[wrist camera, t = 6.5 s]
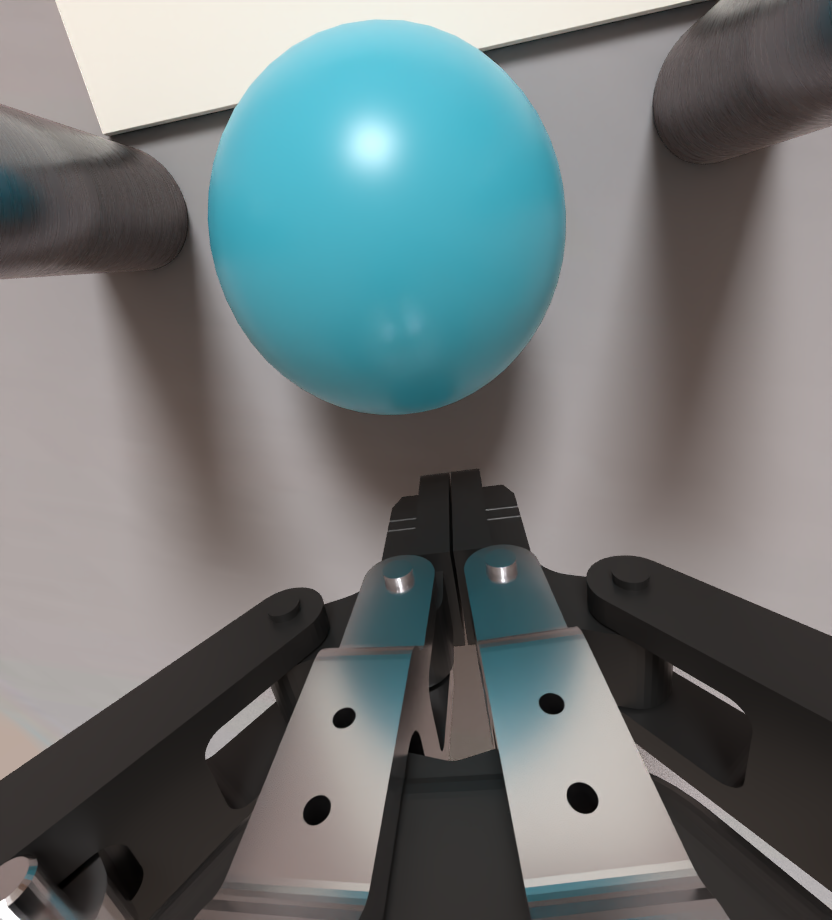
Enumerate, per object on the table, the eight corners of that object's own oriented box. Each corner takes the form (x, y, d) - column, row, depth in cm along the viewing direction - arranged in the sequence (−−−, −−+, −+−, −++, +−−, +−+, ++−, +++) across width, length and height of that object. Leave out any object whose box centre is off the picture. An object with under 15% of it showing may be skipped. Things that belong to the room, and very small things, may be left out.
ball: (640, 414, 8) (506, 321, 13) (664, -126, 5) (472, 32, 10) (284, 524, 7) (289, 383, 12) (38, 19, 4) (180, 105, 9)
